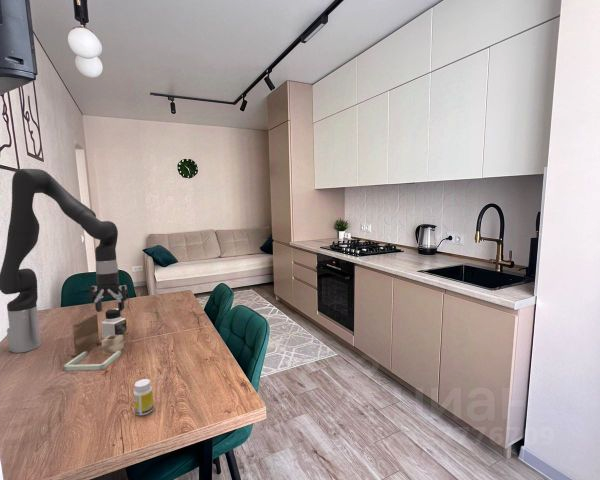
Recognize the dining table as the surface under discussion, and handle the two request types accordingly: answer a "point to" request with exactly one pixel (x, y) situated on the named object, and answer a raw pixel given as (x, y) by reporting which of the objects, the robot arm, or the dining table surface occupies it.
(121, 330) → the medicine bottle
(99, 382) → the dining table surface
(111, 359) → the bay
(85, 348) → the screen
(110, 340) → the letter cube
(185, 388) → the dining table surface
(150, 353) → the dining table surface
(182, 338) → the dining table surface
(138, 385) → the supplement bottle
